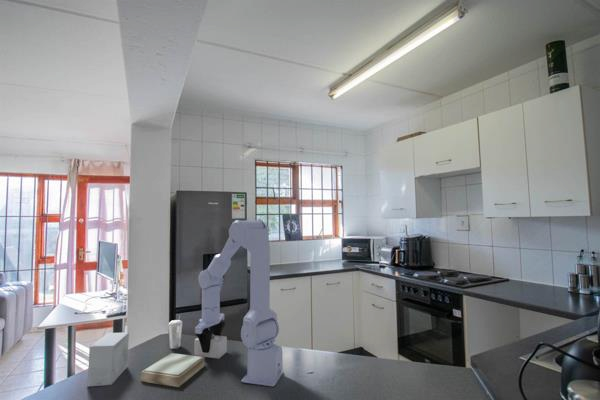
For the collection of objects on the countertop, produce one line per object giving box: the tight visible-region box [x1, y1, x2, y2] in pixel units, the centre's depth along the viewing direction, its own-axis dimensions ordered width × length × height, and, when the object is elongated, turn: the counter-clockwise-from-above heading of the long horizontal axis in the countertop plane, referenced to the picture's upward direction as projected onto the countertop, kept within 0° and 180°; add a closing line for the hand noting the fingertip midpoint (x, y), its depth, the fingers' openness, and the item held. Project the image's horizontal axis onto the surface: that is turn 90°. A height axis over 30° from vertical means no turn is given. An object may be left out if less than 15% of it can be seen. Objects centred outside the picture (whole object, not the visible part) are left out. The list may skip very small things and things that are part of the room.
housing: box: [193, 334, 228, 360], centre depth 100 cm, size 9×5×6 cm, turn 74°
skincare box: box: [86, 331, 130, 388], centre depth 86 cm, size 10×6×10 cm, turn 9°
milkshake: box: [168, 314, 183, 350], centre depth 106 cm, size 5×5×10 cm
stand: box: [140, 352, 206, 388], centre depth 87 cm, size 12×12×3 cm
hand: (210, 348), depth 100 cm, fingers closed on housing, 5 cm apart
